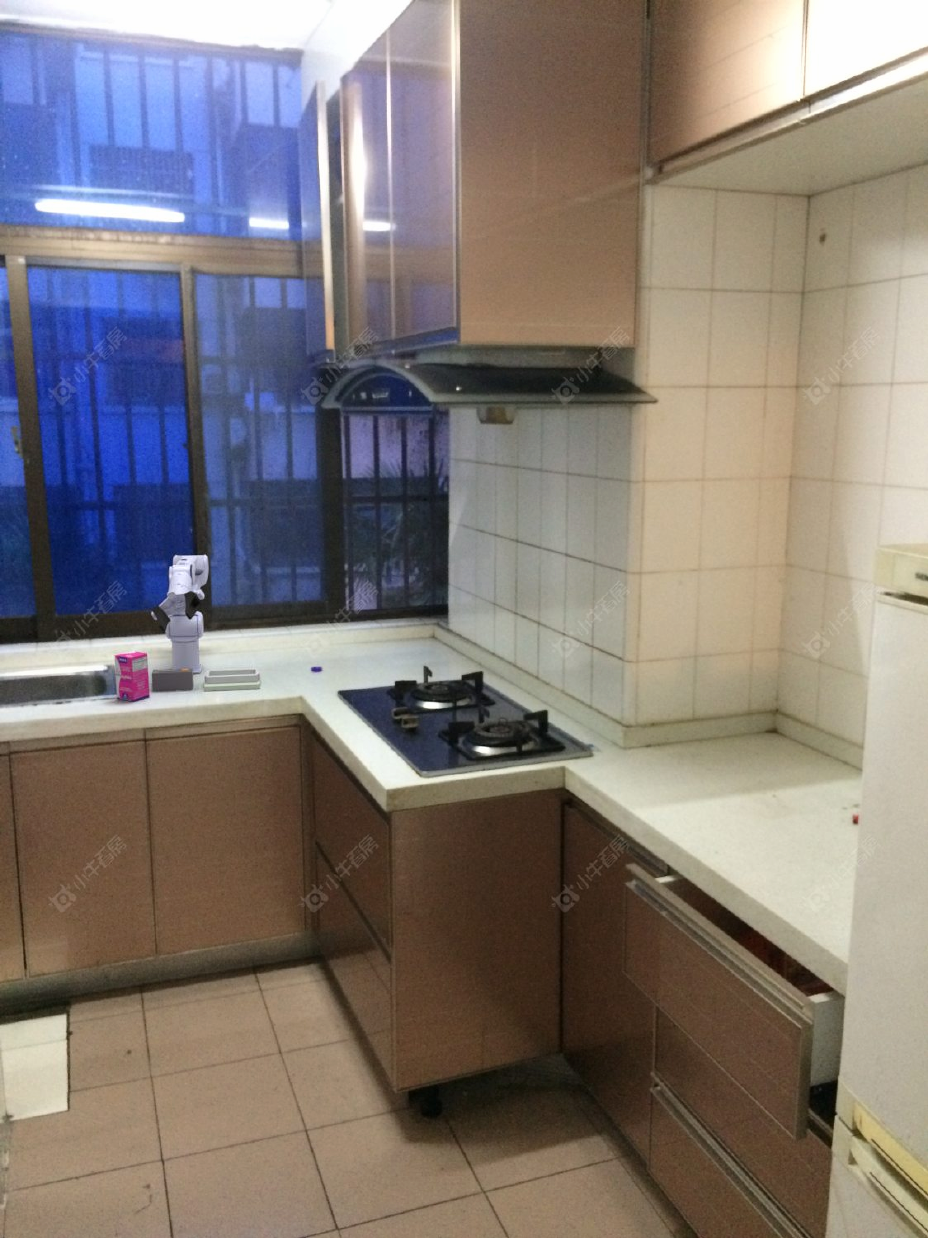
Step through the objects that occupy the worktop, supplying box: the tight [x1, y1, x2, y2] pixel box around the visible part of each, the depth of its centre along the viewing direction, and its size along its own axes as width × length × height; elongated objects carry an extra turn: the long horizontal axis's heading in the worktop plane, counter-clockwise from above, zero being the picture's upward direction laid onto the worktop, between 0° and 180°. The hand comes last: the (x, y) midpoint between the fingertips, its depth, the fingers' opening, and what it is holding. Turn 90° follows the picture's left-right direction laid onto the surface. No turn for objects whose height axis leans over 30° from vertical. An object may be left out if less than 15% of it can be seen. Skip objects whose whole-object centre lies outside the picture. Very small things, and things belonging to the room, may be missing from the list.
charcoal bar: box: [151, 668, 194, 693], centre depth 266 cm, size 4×10×5 cm, turn 102°
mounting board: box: [203, 667, 261, 692], centre depth 272 cm, size 14×14×3 cm
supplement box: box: [113, 650, 151, 703], centre depth 256 cm, size 6×6×12 cm
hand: (175, 622), depth 263 cm, fingers open, 7 cm apart
